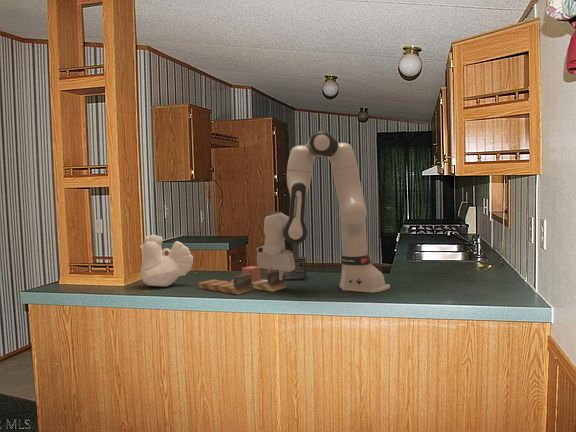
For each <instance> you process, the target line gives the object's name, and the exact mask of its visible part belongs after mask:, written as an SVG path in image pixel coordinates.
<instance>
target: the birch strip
mask: <svg viewBox="0 0 576 432" xmlns="http://www.w3.org/2000/svg"><path fill="white" fill-rule="evenodd" d="M272 272H273V273H267V275H266V278H267V279H265V278H264V279H262V278H261V280H258V281H254V282H252V285H253V290H259V291H267V292H272V293H273V292H276V291H280V290H283V289H286V287H287V283H286V280H285V274H283V276H282V278H283V279H282V280H281V281H280V280H277V279H278V278H277V276H279V274H280V273H279V270H276V271H272ZM230 282H234V280H233V279H231V281H230Z"/></svg>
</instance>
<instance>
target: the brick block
mask: <svg viewBox="0 0 576 432" xmlns="http://www.w3.org/2000/svg"><path fill="white" fill-rule="evenodd" d="M242 274H251V280H252V282H254V281H258V280H261V279H262V278H261V275H262V274H261V268H258V266H257V265H256V266H255V265H254V266H253V265H250V266H245V267H241V275H242Z"/></svg>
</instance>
